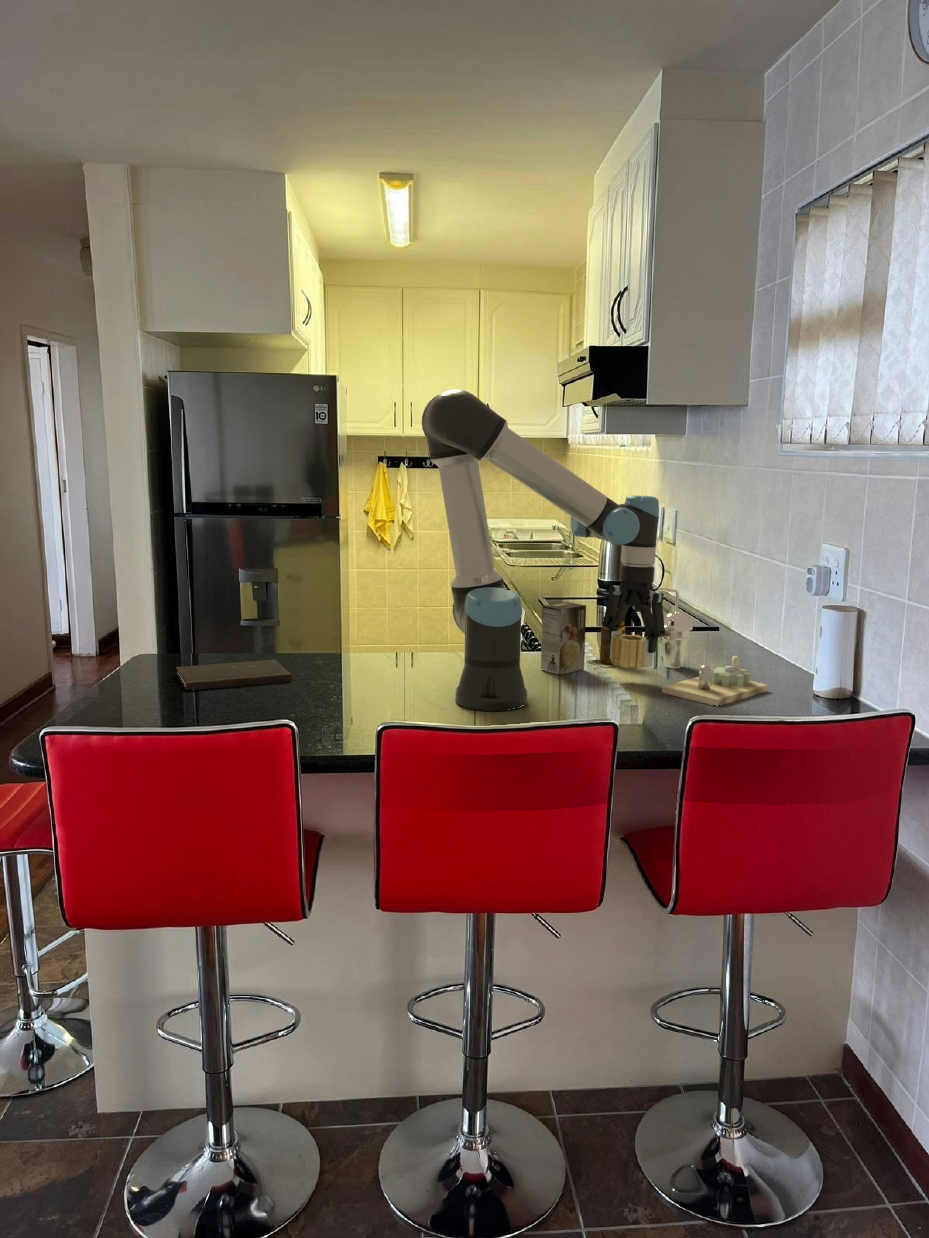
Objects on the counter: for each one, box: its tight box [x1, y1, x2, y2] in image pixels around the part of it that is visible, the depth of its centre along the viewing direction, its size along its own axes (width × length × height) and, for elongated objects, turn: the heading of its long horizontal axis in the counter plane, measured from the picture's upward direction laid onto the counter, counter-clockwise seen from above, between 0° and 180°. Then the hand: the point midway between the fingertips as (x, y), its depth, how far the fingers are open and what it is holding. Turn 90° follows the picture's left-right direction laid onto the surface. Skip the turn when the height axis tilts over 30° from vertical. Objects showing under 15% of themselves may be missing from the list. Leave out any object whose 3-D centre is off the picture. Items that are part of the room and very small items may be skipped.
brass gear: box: [611, 633, 647, 669], centre depth 207 cm, size 9×9×6 cm
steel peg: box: [698, 664, 712, 690], centre depth 197 cm, size 3×3×5 cm
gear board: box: [661, 676, 769, 707], centre depth 201 cm, size 20×14×2 cm
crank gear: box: [710, 655, 751, 687], centre depth 204 cm, size 9×9×6 cm
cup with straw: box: [656, 586, 693, 669], centre depth 223 cm, size 8×9×20 cm
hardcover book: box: [175, 659, 292, 691], centre depth 206 cm, size 16×23×2 cm
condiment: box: [587, 616, 626, 668], centre depth 226 cm, size 7×8×12 cm
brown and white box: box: [540, 601, 587, 675], centre depth 217 cm, size 9×6×16 cm
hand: (630, 662), depth 207 cm, fingers closed on brass gear, 9 cm apart
